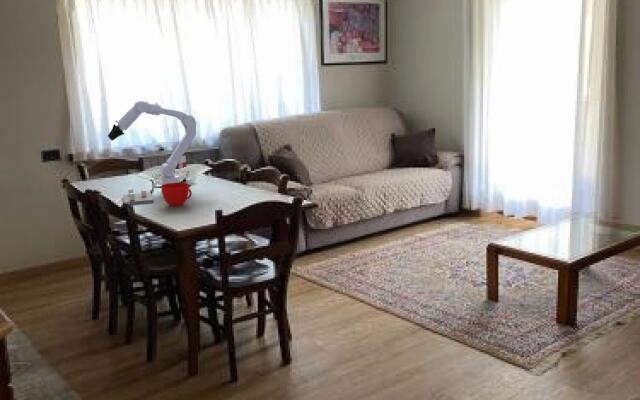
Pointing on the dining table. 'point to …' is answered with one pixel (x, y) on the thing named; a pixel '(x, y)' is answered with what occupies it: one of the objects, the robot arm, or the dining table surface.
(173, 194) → the ceramic cup
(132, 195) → the sage knob
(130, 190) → the grey knob
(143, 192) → the rose knob
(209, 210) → the dining table surface
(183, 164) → the red and white box
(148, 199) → the switch base
